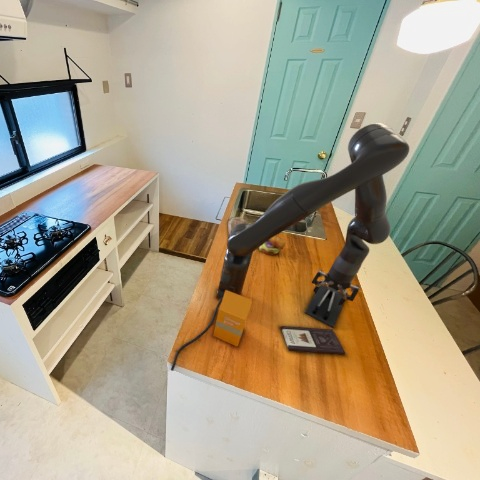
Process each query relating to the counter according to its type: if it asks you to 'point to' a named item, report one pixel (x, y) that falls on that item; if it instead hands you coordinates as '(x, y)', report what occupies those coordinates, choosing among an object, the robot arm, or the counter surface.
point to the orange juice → (232, 317)
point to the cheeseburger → (273, 245)
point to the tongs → (330, 293)
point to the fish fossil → (235, 222)
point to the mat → (325, 307)
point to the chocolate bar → (312, 340)
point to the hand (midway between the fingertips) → (327, 298)
